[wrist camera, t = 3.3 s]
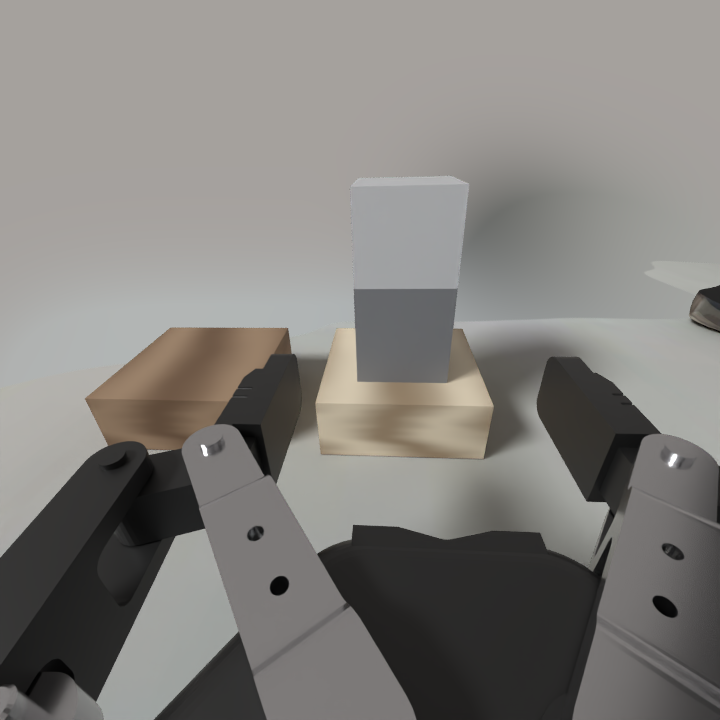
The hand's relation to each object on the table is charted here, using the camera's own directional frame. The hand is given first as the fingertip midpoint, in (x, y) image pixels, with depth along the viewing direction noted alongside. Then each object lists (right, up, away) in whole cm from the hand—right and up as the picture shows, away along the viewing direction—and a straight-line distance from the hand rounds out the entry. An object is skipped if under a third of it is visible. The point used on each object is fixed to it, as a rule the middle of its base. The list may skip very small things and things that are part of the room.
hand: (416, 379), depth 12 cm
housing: (+1, +1, +13) cm, 13 cm away
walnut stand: (-13, -3, +16) cm, 21 cm away
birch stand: (+1, -3, +15) cm, 15 cm away
